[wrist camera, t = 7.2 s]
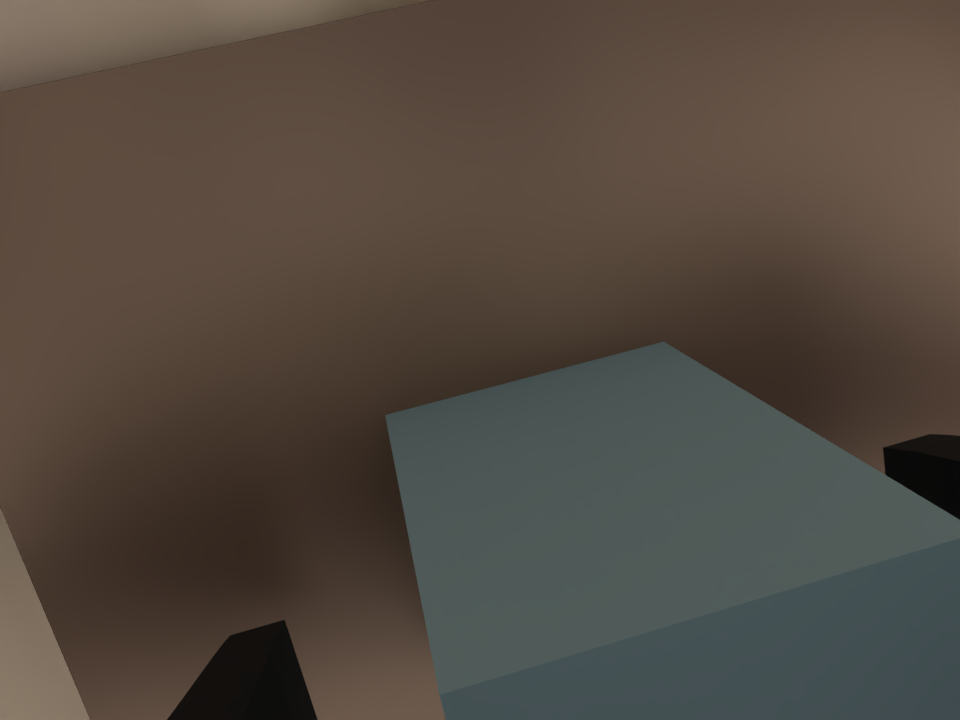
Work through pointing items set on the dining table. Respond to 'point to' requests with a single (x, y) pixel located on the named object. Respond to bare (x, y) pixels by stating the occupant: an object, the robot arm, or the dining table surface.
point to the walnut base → (435, 289)
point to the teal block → (669, 555)
